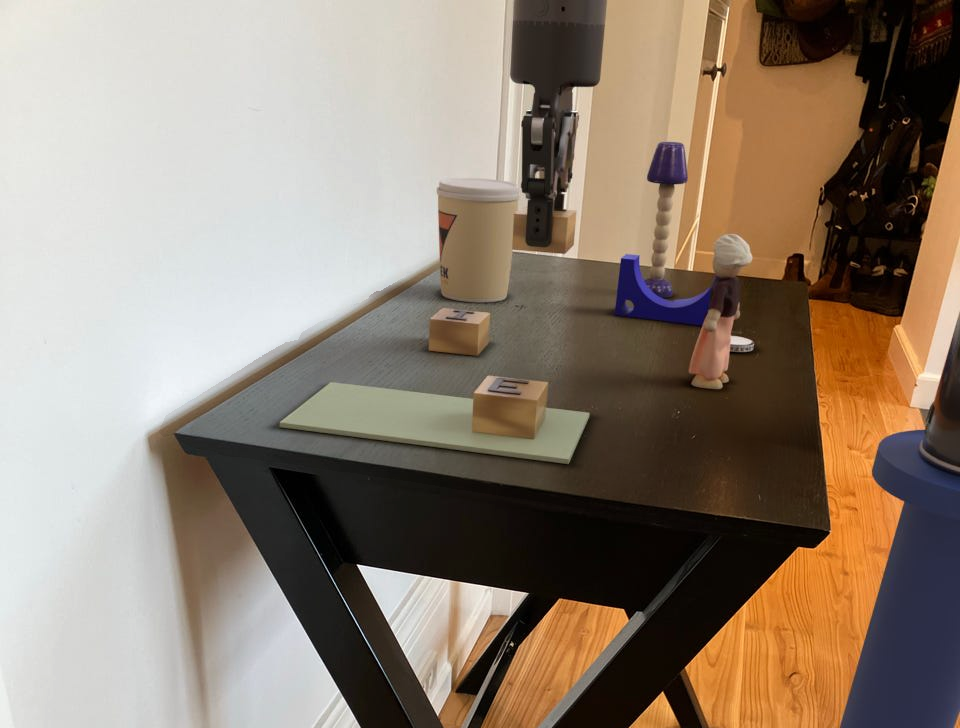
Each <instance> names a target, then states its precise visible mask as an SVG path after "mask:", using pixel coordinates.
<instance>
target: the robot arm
mask: <svg viewBox="0 0 960 728" xmlns="http://www.w3.org/2000/svg"><path fill="white" fill-rule="evenodd" d="M607 5H608V0H513V3H512V23H511V24H512V25H511V45H510V46H511V47H510V67H509V76H510V80H511V81H512V82H513V83H514V84H519V85H530V86H532V87H533V88H534V92H533V98H532V105H531V109H526V111H525V115H523V118H522V120H521V124H520V127H521V182H520V188H521V193H522V194H524V195H525V200H527V205H526V207H527V222H526V238H525V241H526V244H527V245H528V246H533V247H548V246H549V245H550V244H551V241H552V228H553V215H554V208H557V209H565V198H566V197H565V195H566V194H565V193H567V192H568V189H569V186H570V184H571V181H572V179H573V175H574V173H573V167H574V166H573V165H574V160H575V148H576V140H577V131H578V127H579V121H580V115H579V111H578V110H575V109H573V107H574V106H573V105H574V103H573V102H574V101H573V100H574V99H573V97H574V95H573V94H574V93H573V89H574V88H594V87H596V86H597V85H599V83H600V81H601V76H602V75H601V74H602V62H603V51H604V40H605V31H606V30H605V28H606V17H607ZM537 173H538V175H539V176H538V177H536V174H537ZM926 423H927V424H926ZM925 424H926V425H925V428H924V430H925V433H924V437H923V440H922V441H921V443H920V447H919V450H918V453H919V455H920V457H921V458H922V459H923V460H924V461H925V462H927V463H928V464H930V465H932V466H934V467H936V468H938V469H940V470H943V471H945V472H947V473H950V474H954V475H957V476H960V311H959V312H958V316H957V320H956V323H955V326H954V330H953V334H952V337H951V339H950V344H949V346H948V350H947V355H946V357H945V362H944V364H943V367H942V372H941V375H940V378H939V381H938V386H937V389H936V392H935V396H934V399H933V401H932V403H931V404H930V406H929V408H928V413H927V416H926V420H925Z"/></svg>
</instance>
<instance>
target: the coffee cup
mask: <svg viewBox="0 0 960 728" xmlns="http://www.w3.org/2000/svg"><path fill="white" fill-rule="evenodd" d="M436 194H437V217H438V218H437V219H438V245H439V249H438V250H439V273H440V276H439V277H440V290H441V291H440V292H441V295H442V296H443V297H444V298H446V299H450V300H454V301H458V302H466V303H467V302H468V303H479V304H480V303H481V304H482V303H496V302H499V301H500V302H501V301H503V300H505V299H506V298H507V296H508V290H509V283H510V275H511V268H512V262H513V261H512V260H513V253H514V252H513V251H514V250H513V249H512V240H513V221H514V213H516V212H517V211H519V200H520V199H521V195H522V194H521V191H520V190H519V185H518V184H517V183H514V182H511V181H508V180H507V181H506V180H500V179H490V178H477V177H476V178H475V177H456V178H455V177H454V178H453V177H452V178H445V179H441V180H440V181H439V183H438V186H437V187H436Z"/></svg>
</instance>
